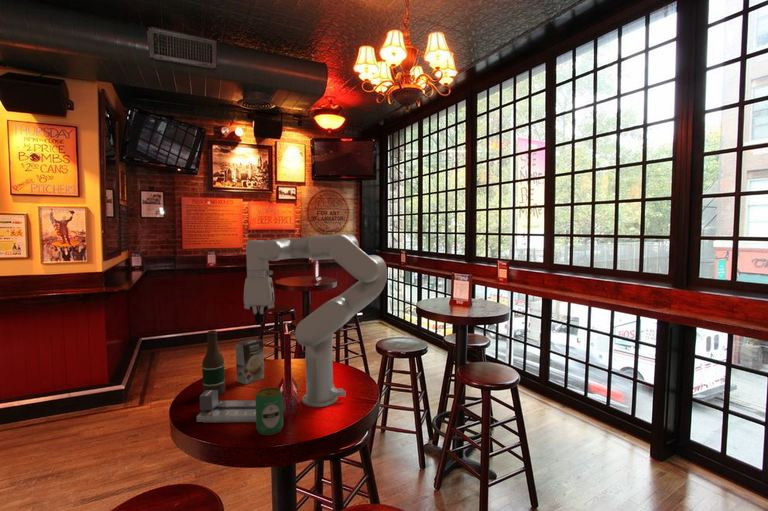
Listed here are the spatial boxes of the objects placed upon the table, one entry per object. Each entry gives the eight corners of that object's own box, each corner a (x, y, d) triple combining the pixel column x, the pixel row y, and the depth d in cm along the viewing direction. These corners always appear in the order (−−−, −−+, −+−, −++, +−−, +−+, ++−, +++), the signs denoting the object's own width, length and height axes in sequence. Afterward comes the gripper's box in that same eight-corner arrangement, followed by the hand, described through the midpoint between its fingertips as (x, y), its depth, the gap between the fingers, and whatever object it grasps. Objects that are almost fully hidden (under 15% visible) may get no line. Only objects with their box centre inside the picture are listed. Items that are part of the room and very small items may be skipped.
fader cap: (218, 403, 139) (217, 389, 139) (212, 410, 134) (211, 395, 134) (206, 403, 139) (206, 389, 139) (200, 410, 134) (199, 395, 134)
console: (281, 405, 143) (280, 394, 142) (271, 421, 131) (271, 410, 131) (212, 406, 143) (212, 395, 143) (196, 422, 131) (196, 411, 131)
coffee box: (245, 385, 162) (244, 345, 161) (236, 381, 166) (234, 342, 165) (264, 378, 170) (263, 340, 169) (255, 374, 173) (253, 337, 172)
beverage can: (258, 438, 121) (256, 398, 120) (255, 426, 128) (253, 389, 127) (285, 432, 124) (284, 393, 123) (281, 421, 131) (279, 384, 130)
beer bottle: (217, 398, 149) (214, 334, 148) (198, 397, 151) (195, 333, 149) (229, 390, 157) (227, 328, 155) (211, 389, 159) (209, 328, 157)
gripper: (281, 272, 151) (282, 321, 153) (241, 273, 152) (243, 322, 153) (275, 275, 144) (277, 326, 145) (233, 275, 144) (235, 327, 145)
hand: (259, 324), depth 149 cm, fingers closed
